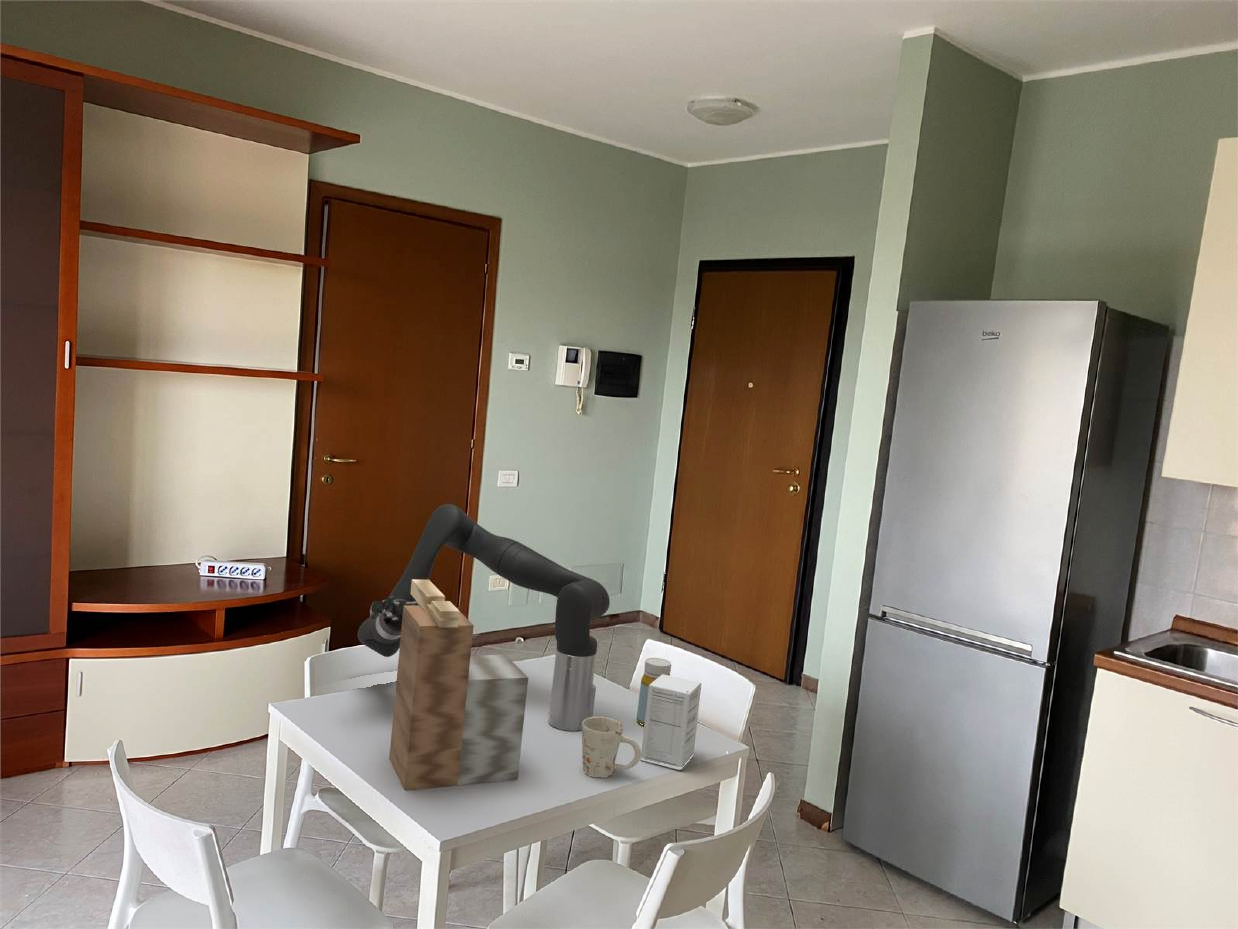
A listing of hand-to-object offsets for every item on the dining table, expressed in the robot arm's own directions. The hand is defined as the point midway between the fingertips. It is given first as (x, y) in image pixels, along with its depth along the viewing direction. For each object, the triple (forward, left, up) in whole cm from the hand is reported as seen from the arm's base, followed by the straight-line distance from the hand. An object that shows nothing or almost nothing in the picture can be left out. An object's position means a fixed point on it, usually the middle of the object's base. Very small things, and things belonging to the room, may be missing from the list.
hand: (412, 600), depth 191 cm
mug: (-36, +29, -29) cm, 54 cm away
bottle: (-58, +6, -29) cm, 65 cm away
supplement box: (-52, +25, -29) cm, 64 cm away
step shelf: (-6, +21, -28) cm, 35 cm away
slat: (0, +17, +3) cm, 17 cm away
